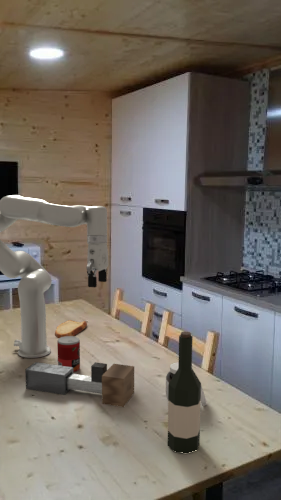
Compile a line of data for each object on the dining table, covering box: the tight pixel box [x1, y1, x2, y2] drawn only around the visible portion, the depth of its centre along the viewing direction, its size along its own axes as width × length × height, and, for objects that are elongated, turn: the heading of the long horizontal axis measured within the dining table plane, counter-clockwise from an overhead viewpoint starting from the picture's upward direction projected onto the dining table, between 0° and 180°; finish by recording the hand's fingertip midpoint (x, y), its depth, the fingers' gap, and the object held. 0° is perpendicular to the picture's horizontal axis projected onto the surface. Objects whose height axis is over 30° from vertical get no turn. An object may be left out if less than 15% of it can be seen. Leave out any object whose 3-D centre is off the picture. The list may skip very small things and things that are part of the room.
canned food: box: [56, 336, 81, 373], centre depth 168 cm, size 8×8×11 cm
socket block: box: [101, 363, 135, 408], centre depth 146 cm, size 7×10×9 cm
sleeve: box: [25, 361, 74, 396], centre depth 153 cm, size 14×6×7 cm, turn 72°
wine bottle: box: [167, 331, 202, 454], centre depth 119 cm, size 8×8×30 cm
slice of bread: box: [54, 319, 88, 339], centre depth 211 cm, size 18×18×4 cm
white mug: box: [165, 361, 208, 407], centre depth 143 cm, size 12×11×12 cm
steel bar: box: [66, 362, 108, 395], centre depth 149 cm, size 20×4×9 cm, turn 72°
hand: (97, 284), depth 178 cm, fingers open, 9 cm apart
